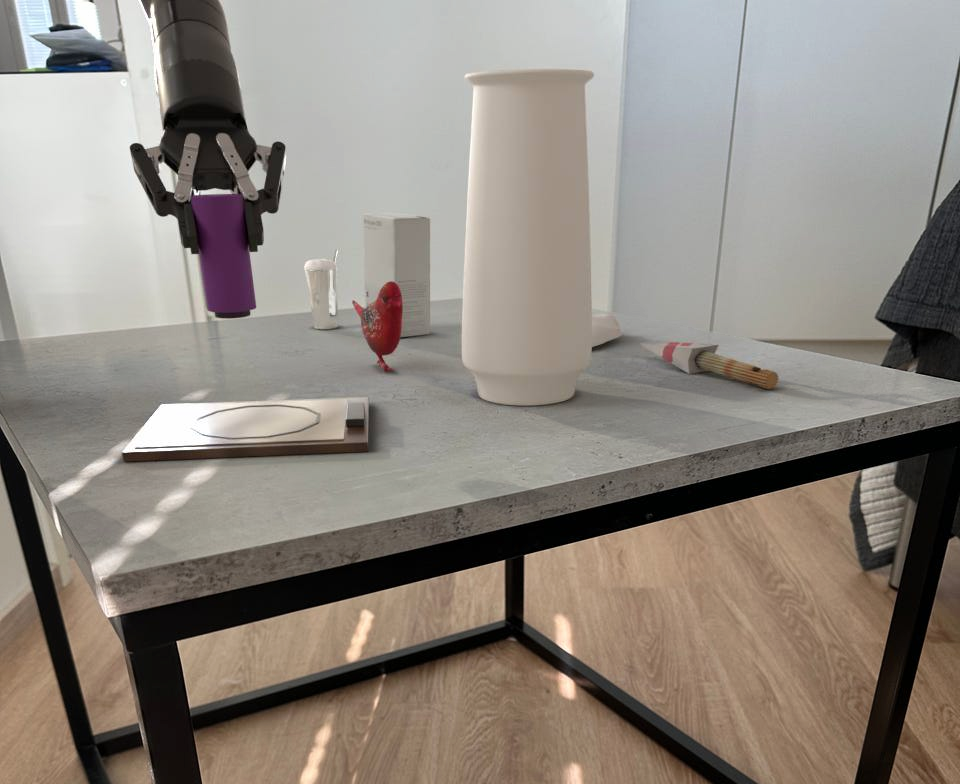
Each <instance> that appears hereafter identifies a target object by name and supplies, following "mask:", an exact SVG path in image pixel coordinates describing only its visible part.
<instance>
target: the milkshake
mask: <svg viewBox="0 0 960 784" xmlns="http://www.w3.org/2000/svg"><path fill="white" fill-rule="evenodd" d="M338 251H339V250H338V249H335V252H334V254H333V259H326V258H314V259H309V260H307V261H306V262H305V264H304V266H303V269H304V275H305V280H306V285H307V290H308V297H309V303H310V304H309V305H310V308H311V315H312V322H313V327H314V329H317V330H333V329H337V328H338V327H339V319H338V317H339V316H338V315H339V314H338V313H339V311H338V264H337V263H336V260H337V255H338Z"/></svg>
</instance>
